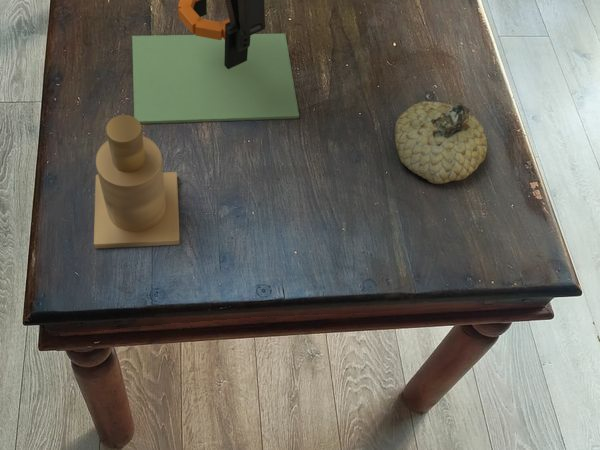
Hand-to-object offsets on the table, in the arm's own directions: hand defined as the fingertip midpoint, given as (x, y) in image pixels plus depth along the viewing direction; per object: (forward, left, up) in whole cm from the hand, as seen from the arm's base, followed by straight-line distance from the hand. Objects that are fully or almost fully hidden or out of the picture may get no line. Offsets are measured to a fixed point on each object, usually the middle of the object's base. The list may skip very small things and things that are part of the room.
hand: (215, 39), depth 84 cm
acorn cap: (+17, -24, -7) cm, 30 cm away
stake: (-18, -12, -7) cm, 23 cm away
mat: (0, 0, -7) cm, 7 cm away
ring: (0, 0, +5) cm, 5 cm away
